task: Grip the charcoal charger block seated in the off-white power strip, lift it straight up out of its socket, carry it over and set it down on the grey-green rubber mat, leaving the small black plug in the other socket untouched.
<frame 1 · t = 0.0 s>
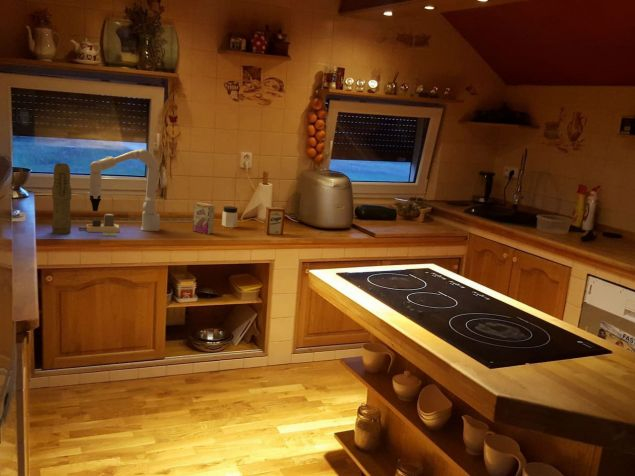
hand: (95, 209, 320), 10 cm above the counter, tool pointing down, fingers open, 7 cm apart
baking soda box: (273, 234, 351), on the counter
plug: (96, 225, 317), point 3 cm above the counter, touching power strip
candy bar box: (202, 233, 338), on the counter
carved stone statue: (61, 232, 306), on the counter
mat: (109, 234, 311), on the counter
charger: (108, 225, 320), point 3 cm above the counter, touching power strip
power strip: (102, 230, 319), on the counter
jar: (229, 227, 360), on the counter
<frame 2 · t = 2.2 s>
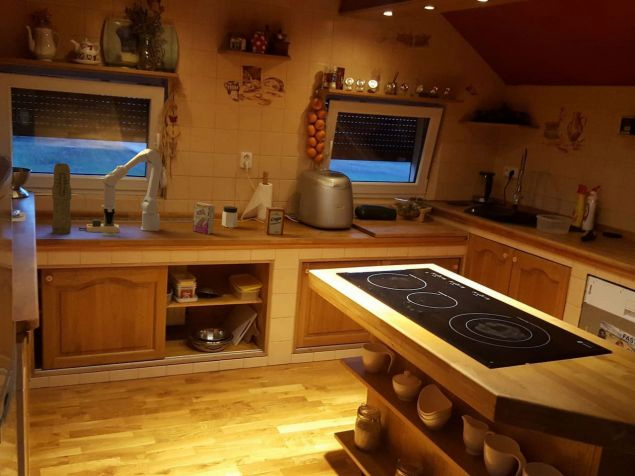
hand: (108, 222, 319), 4 cm above the counter, tool pointing down, fingers closed on charger, 4 cm apart
charger: (108, 225, 320), point 3 cm above the counter, touching gripper, power strip
everything else where it was.
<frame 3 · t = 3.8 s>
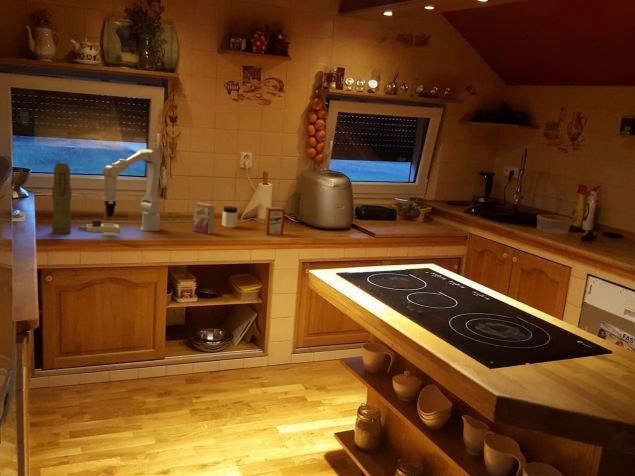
hand: (109, 215, 310), 10 cm above the counter, tool pointing down, fingers closed on charger, 4 cm apart
charger: (109, 218, 310), point 8 cm above the counter, touching gripper
everything else where it was.
when the fingers open (3 cm above the counter, at t = 5.6 s): charger drops 1 cm, resting on mat.
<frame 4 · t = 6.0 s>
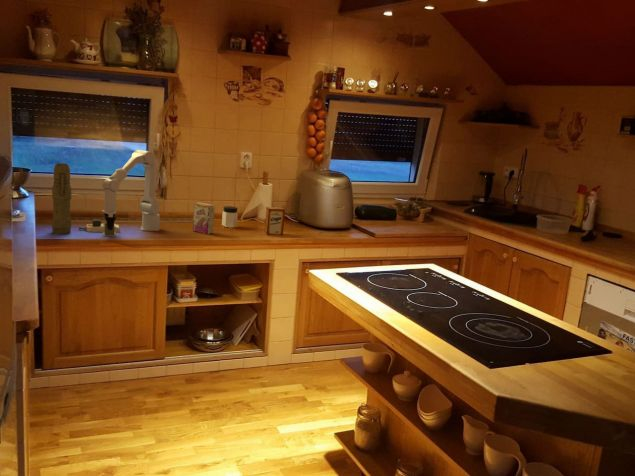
hand: (109, 228, 310), 3 cm above the counter, tool pointing down, fingers open, 7 cm apart
charger: (109, 233, 311), resting on mat
everything else where it was.
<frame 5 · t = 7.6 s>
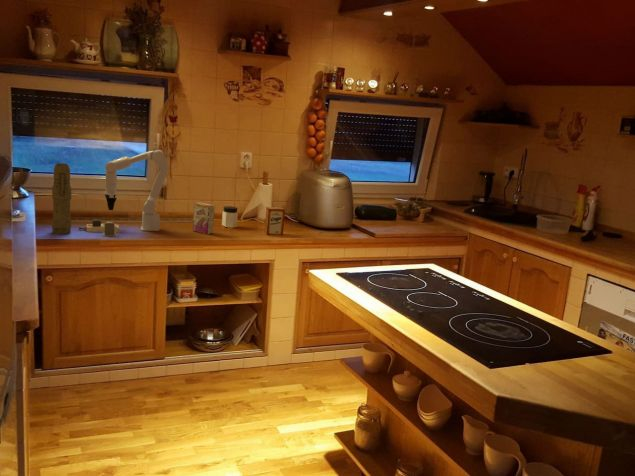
hand: (110, 208, 326), 10 cm above the counter, tool pointing down, fingers open, 7 cm apart
nothing on the counter moved.
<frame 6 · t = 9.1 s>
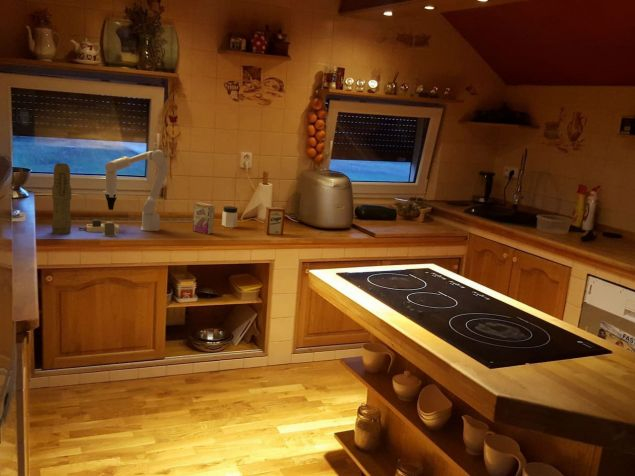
hand: (110, 208, 327), 10 cm above the counter, tool pointing down, fingers open, 7 cm apart
nothing on the counter moved.
at the end: charger inside the target area on the mat (0.1 cm from its centre), point 0.4 cm above the mat's base; charger tilted 0°; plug moved 0.8 cm from its start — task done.
